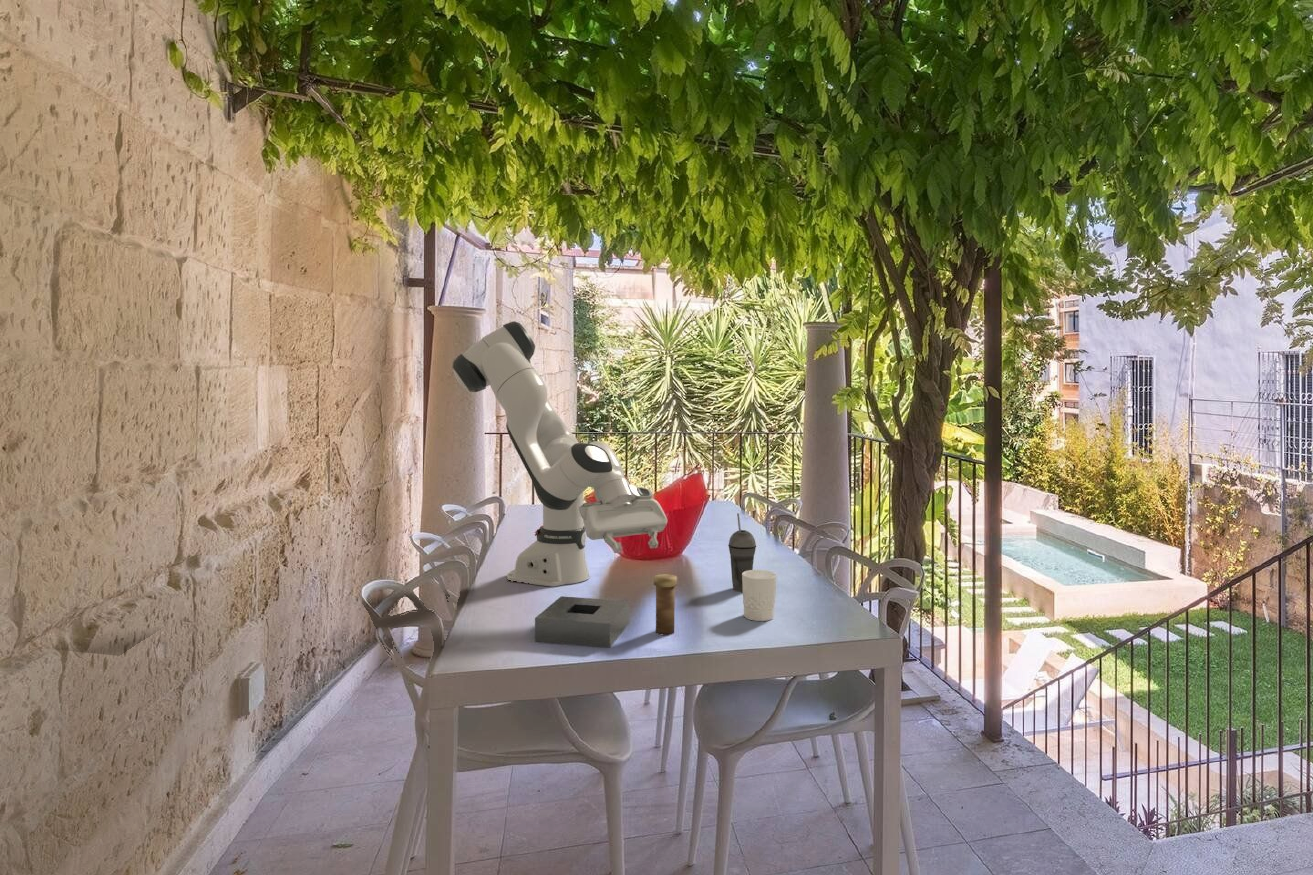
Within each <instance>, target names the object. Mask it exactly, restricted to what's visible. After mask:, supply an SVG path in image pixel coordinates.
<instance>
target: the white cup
mask: <svg viewBox="0 0 1313 875" xmlns="http://www.w3.org/2000/svg"><path fill="white" fill-rule="evenodd" d="M777 578H778V577H777V573H776V572H774V571H771V570H770V571H769V570H764V569H753V570H749V571H745V572H743V573H742V586H743V592H742V604H743V616H744V617H745V619H747V620H749V621H755V622H767V621H771V620H773V619H774V616H775V605H776V596H777V595H776V594H777V580H778V579H777Z"/></svg>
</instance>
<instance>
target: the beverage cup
mask: <svg viewBox="0 0 1313 875" xmlns="http://www.w3.org/2000/svg"><path fill="white" fill-rule="evenodd" d="M736 515H737V525H738V526H737V527H738V530H736V531H734V533H732V535H731V536H730V537H729V540H728V545H727V546H728V549H729V555H730V566H731V567H730V568H731V570H730V571H731V583H732V590H733V591H736V592H741V593H743V586H742V573H743V572H745V571H749V570H754V569H753V568H754V567H753V566H754V561H755V560H754V558H755V554H756V547H757V543H756V540H755V537H754V535H753V534H752V533H751V532H749V531H748V530H746V529H742V528H741V519H740V513H736Z"/></svg>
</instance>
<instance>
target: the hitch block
mask: <svg viewBox="0 0 1313 875" xmlns="http://www.w3.org/2000/svg"><path fill="white" fill-rule="evenodd" d="M629 624H630V601H629V600H619V599H608V598H607V599H605V598H604V599H603V598H594V597H593V598H590V597H577V596H576V597H574V596H560V597H558V598H557V599H555V601H553V602H552V603H551V604H550V605H549V606H547V607H546V609H544V610H543V611H542V612H541V613H539V614H538V615H537V616H535V617H534V642H536V643H546V644H557V645H558V644H560V645H568V646H569V645H570V646H582V647H596V648H603V649H604V648H606V649H611V647H612V646H613V645H614V643H615V642H616V640H617V639H618V638H619V637H620V635H621V634H622V633H623V631H624V630H625V629H626V628H627V626H628V625H629Z"/></svg>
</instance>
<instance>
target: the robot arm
mask: <svg viewBox="0 0 1313 875" xmlns="http://www.w3.org/2000/svg"><path fill="white" fill-rule="evenodd" d="M535 349H536V345H535V341H534V337H533V335H532V333H531V332H530V331H529V330H528V328H526V327H525V326H524V325H522V324H521V323H520V322H517V321H516V320H515V321H510V322H508V323H507V322H506V323H505V324H503V325H502V327H499V328H498V329H496V330H494V331H492V332H490V333H488V334H486V335H484V336H483V337H482V338H481V339H480V340H477V342H475V343H474V344H473V345H471V347H469V348H468V349H467V350H466V351H465V352H464V353H460V354H459V355H458V356H457V357H455V359H454V360H453V361H452V366H451V368H452V369H453V374H454V378H455V379H456V381H457V382H458V383H459V385H460V386H461V387H462V388H464V389H466V390H467V391H469V392H470V393H478V392H481V391H483V390H486V389H487V387H488V386H490V388H491V390H492V393H493V394H494V396H495V398H496V400H497V402H498V403H499V404H500V406H501V407H502V409H503V410H504V413H505V416H506V417H505V418H506V422H505V424H506V426H505V427H506V432H507V433H508V436H509V439H510V441H511V442H512V445H513V447H514V449H515V450H516V452H517V455H518V456H519V458H520V460H521V462H522V464H523V466H524V468H525V470H526V471H527V474H528V475H529V478H530V479H531V482H532V485H533V487H534V490H535V493H536V497H537V499H538V500H539V501H540V503H541V504H542V525H541V526H540V527H539V528H537V529H536V530H535V531H534V537H536V540H535V541H534V542H533V543H531V544H530V545H529V546H527V547H526V548H525V549H524V550H523V551H522V552H520V553H519V554H518V556H517V558H516V561H515V565H514V569H512V570H510V572H508V573H507V575H506V580H507V579H508V580H511V581H510V582H513V581H517V582H516V583H521V582H524V583H523V584H528V583H529V585H530V584H531V585H537V586H546V587H559V586H563V585H570V584H577V583H581V582H584V581H586V580H588V579H590V577H591V576H590V574H589V570H588V565H587V560H586V552H585V551H586V550H585V547H586V538H588V539H590V540H592V541H595V540H603V541H604V543H606V545H608V546H609V547H610V548H611V549H612V551H613V553H614V554H618V553H621V552H622V550H623V545H622V544H621V542H620V541H619V542H618V541H616V540H615V539H614V538H623V537H629V536H630V537H631V536H636V535H637V536H638V535H646V534H648V536H649V537H651V538H650V539H649V541H648V542H647V544H648V546H649V548H650V549H656V548H657V547H658V546H659V541H658V539H657V536H658V533H661V532H663V531H664V529H665V528H666V526H667V524H668V518H667V515H666V513H665V511H664V509H663V508H662V506H661V504H660V502H658V500H656V499H654V498H653V497H654V496H655V495H654V492H653V490H652V489H650V488H646V487H641V486H636V485H634V484H631V483H630V482H629V480H628V479H627V478H626V476H625V472H624V468H623V466H622V463H621V462H620V459H619V458H618V456H617V455H616V453H615V451H614V450H613V449H612V447H611V446H610V445H609V444H608V443H606V442H604V441H601V440H600V441H599V440H597V441H591V442H589V443H587V442H579V440H578V439H577V438H576V437H575V435H574V434H573V433H572V431H571V430H570V428H569V427H568V426H567V425H566V423H565V422H564V420H563V419H562V417H561V416H560V415H559V414H558V413H557V411H556V410H555V409H554V406H552V404H551V403H550V401H549V399H548V388H547V385H546V383H545V381H544V379H543V378H542V377H541V375H540V374H539V373H538V371H537V370H536V369H535V367H534V365H532V364H531V358H532V357H533V355H534V354H535ZM589 488H592V489H593V490H594V491H593V492H594V498H595V500H596V501H593V502H584V492H585V491H586V490H587V489H589ZM508 580H507V581H508Z"/></svg>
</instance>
